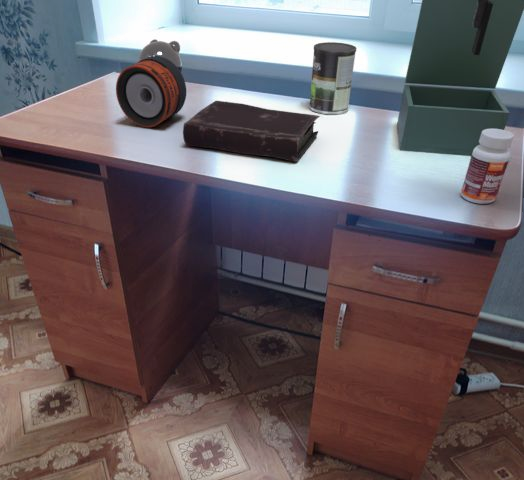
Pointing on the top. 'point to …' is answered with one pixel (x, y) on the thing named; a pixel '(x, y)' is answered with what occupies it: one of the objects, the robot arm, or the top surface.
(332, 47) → the coffee can
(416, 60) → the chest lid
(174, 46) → the piggy bank
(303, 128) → the diary
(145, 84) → the oil filter
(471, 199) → the pill bottle
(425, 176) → the top surface
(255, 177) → the top surface
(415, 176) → the top surface
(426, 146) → the chest
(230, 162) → the top surface
